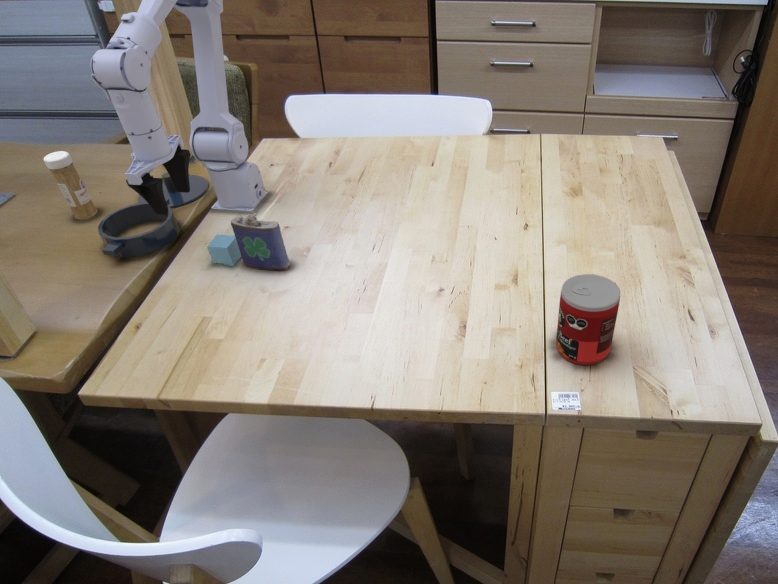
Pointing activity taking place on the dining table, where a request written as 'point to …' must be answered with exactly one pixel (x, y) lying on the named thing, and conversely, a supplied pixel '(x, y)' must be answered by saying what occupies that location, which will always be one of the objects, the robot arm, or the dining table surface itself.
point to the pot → (138, 243)
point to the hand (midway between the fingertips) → (173, 202)
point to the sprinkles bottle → (70, 184)
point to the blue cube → (224, 250)
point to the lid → (182, 198)
